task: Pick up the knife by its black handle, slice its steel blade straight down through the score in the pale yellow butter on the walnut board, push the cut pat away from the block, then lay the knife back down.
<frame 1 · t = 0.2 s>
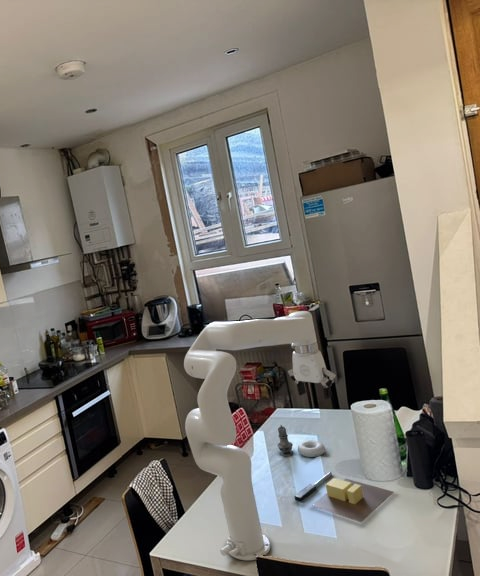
hand: (315, 396, 173), 31 cm above the table, tool pointing down, fingers open, 9 cm apart
butter pat: (356, 499, 160), point 1 cm above the table, touching butter board
donut: (312, 453, 198), on the table
grey chess piece: (286, 453, 202), on the table
knife: (315, 491, 172), on the table
butter block: (340, 495, 164), point 1 cm above the table, touching butter board
butter board: (353, 502, 161), on the table
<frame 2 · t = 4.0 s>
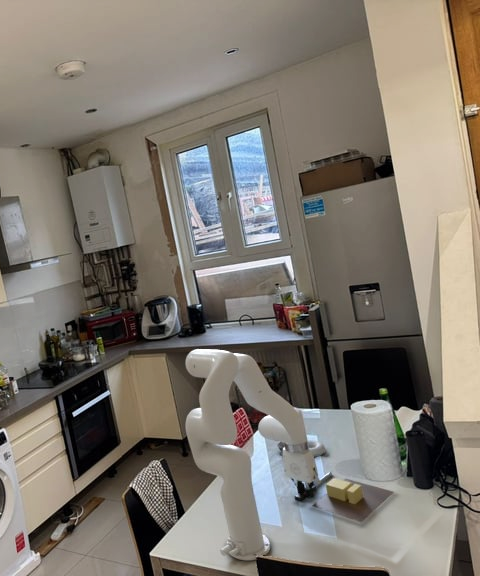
hand: (306, 497, 169), 0 cm above the table, tool pointing down, fingers closed on knife, 2 cm apart
knife: (315, 491, 172), on the table, touching gripper
everything else where it was.
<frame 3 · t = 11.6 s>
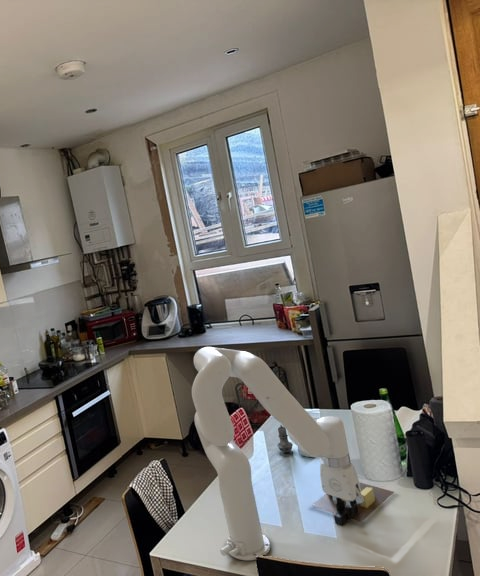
hand: (346, 515, 152), 2 cm above the table, tool pointing down, fingers closed on knife, 2 cm apart
butter pat: (367, 503, 157), point 1 cm above the table, touching butter board, knife
knife: (355, 509, 155), point 1 cm above the table, touching butter pat, gripper
everything else where it was.
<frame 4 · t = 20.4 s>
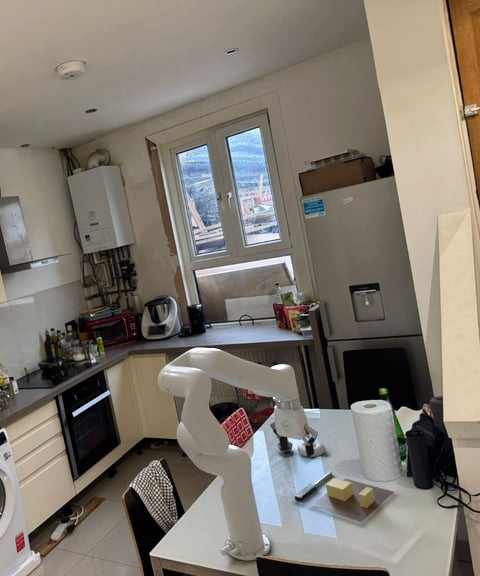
hand: (297, 451, 167), 16 cm above the table, tool pointing down, fingers open, 9 cm apart
butter pat: (367, 503, 157), point 1 cm above the table, touching butter board
knife: (315, 491, 172), on the table
everything else where it was.
at the end: butter pat 0.8 cm from the target spot on the butter board, point 1.2 cm above the butter board's base; butter block moved 0.0 cm from its start; the gripper is holding nothing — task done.
